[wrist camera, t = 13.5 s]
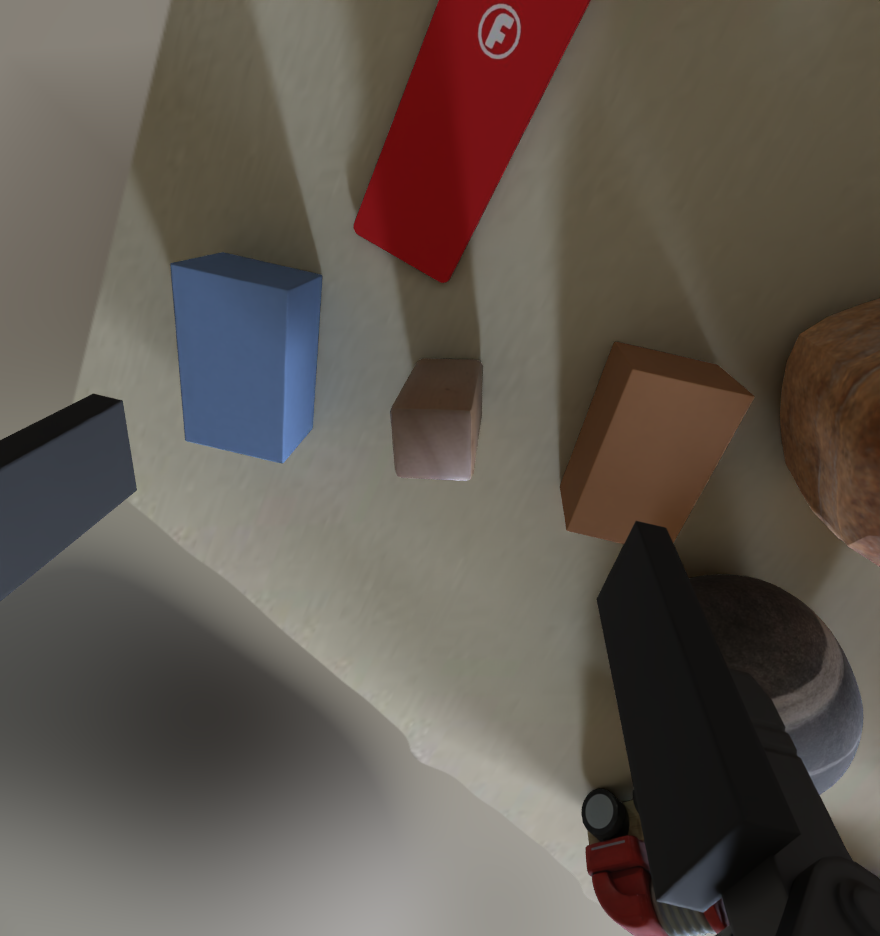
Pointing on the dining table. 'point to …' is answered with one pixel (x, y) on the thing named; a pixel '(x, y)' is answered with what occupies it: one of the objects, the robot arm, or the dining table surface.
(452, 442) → the wooden block
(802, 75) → the dining table surface
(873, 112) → the dining table surface
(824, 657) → the grey blue cap
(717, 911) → the toy fire truck
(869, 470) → the bread
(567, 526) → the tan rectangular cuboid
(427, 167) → the electronic device
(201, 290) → the blue rectangular block
